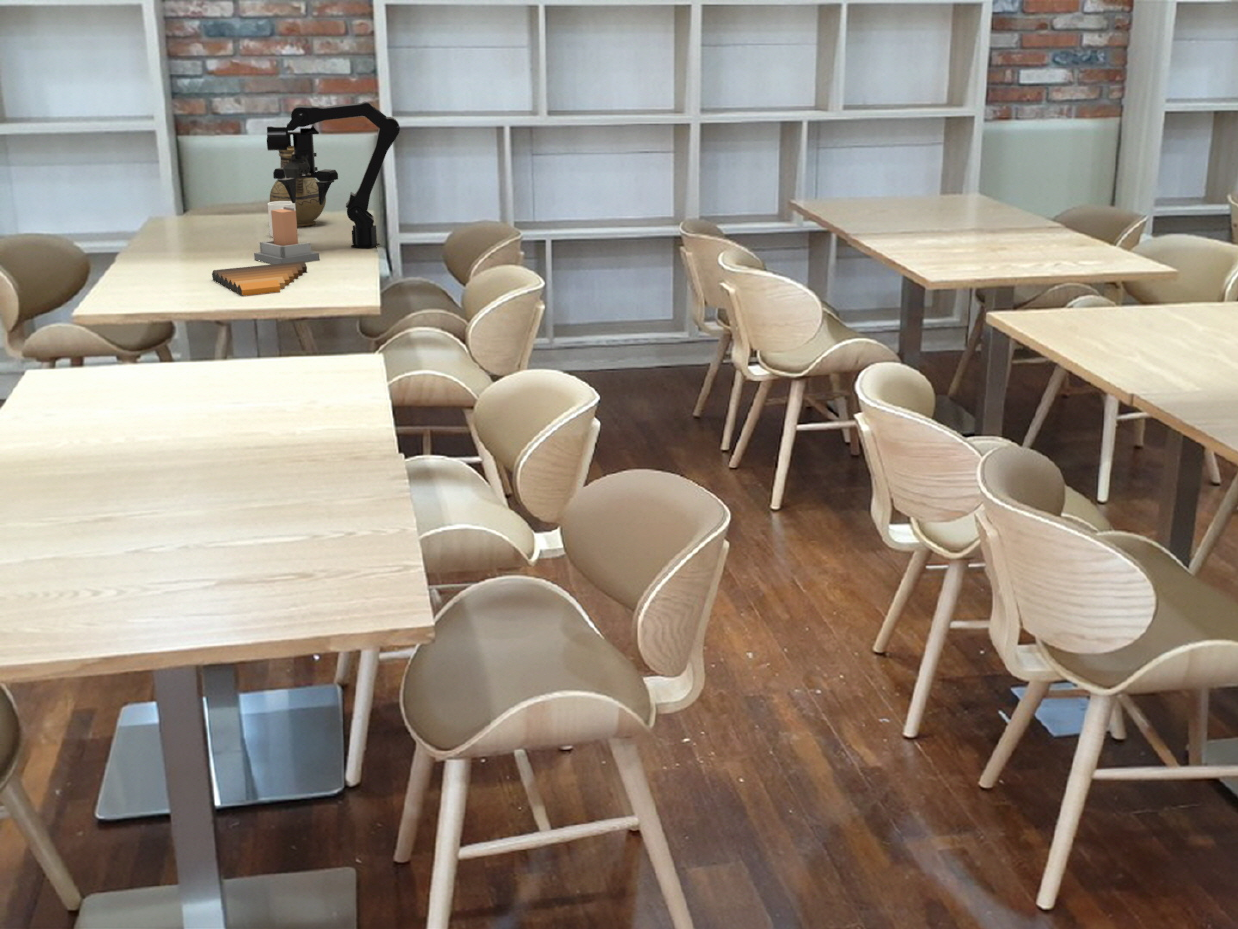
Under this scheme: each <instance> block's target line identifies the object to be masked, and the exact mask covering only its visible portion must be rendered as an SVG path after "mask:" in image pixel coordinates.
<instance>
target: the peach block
mask: <svg viewBox="0 0 1238 929" xmlns="http://www.w3.org/2000/svg"><path fill="white" fill-rule="evenodd" d="M283 208H284V209H278V210H271V215H272V228H273V237H272V238H273V239H272V241H273V242H274V244H275V245H280V246H287V245H294V244H299V237H298V226H297V220H296V211H295V210H294V208H289V207H283Z"/></svg>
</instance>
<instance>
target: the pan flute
mask: <svg viewBox="0 0 1238 929" xmlns="http://www.w3.org/2000/svg"><path fill="white" fill-rule="evenodd" d="M307 270H308V266H307V264H306V262H305V261H300V262H290V263H280V264H261V265H260V264H259V265H250V266H242V267H232V268H221V269H213V271H212V273H211V276H212V281H213V282H215V283H217V282H218V284H219V283H220V284H219V285H221V286H223V287H224V288H227V289H228V290H230V289H231V290H230V291H232V292H234V293H235V292H236V294H238V295H239V296H241V295H247V296H254V295H253V294H256V295H262V294H261V293H265V294H270V293H269V292H274V293H280V292H281V290H282V289H285V288H286V286H289V285H290V283H294V282H295V280H297V279H299V276H303V275H304V274H303V273H308V271H307Z"/></svg>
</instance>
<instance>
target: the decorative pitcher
mask: <svg viewBox="0 0 1238 929" xmlns="http://www.w3.org/2000/svg"><path fill="white" fill-rule="evenodd" d="M277 151H278V157H280V168H282V167H284V166H285V165H286V164H287V163H288V162H290V161H291V156H292V154H294V145H291V147H288V150H277ZM308 175H309V174H308ZM278 180H279V179H276V181H275V182H274V184H273V185H272V187H271V189H270V193H269V202H275V201H291V199H290V196H289V194H288V192H287V190H286V188H285V186H284V185H283V184H282V183H281V182H278ZM316 182H319V181H318V180H317V178H307V177H300V178H298V179H296V202H295V209H296V220H297V227H311V226H314V225H315V224H316V221H315V220H317V219H318V218H319V217H320V216H321V214H322V212H323V211H324V209H325V207H326V203H327V196H326V197H325V199H324V202H323V204H322V205H320V204H319V192H318V186H317V184H316Z"/></svg>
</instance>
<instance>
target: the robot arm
mask: <svg viewBox="0 0 1238 929" xmlns="http://www.w3.org/2000/svg"><path fill="white" fill-rule="evenodd" d="M355 117H356V118H357V117H365V118H366V119H367V120H369V121H370V122H371V123H372V124H373V125H375V126H376V127H377V128H378V129H377V130H378V131H377V137H376V141H375V142H376V143H375V146H374V149H373V151H372V154H371V156H370V160H369V161H368V164H367V167H366V170H365V171H364V174H363V177H362V178H361V182H360V184H359V187H358V189H357V190H356V191H355V193H354V192H353V191H351V192H350V194H349V197H348V200H347V202H346V203H345V208H346V215H347V217H348V219H349V220H350V221H351V222H353V223H354V225H352V230H351V239H352V240H351V241H352V244H351V245H350V247H351V248H361V249H372V248H374V247H377V246H380V245H381V243H380V242H378V237H377V235H378V234H377V225H376V224H375V217H374V215H373V214H372V213H371V212H369V211H368V208H369V203H370V199H371V193H372V191H373V188H374V186H375V183H376V182H377V181H376V180H377V178H378V176H379V174H380V173H379V172H380V171H381V168H382V166H383V164H384V163H383V162H384V160H385V158H386V155H387V152H388V151H389V149H390V148H391V146H393V144H394V142H395V141H396V138H397V137H398V136H399V133H400V131H401V128H400V124H399V122H398V120H397V118H394V117H392V116H386V115H385V114H384V113H383V112H382V111H380V110H379V109H378V108H376V107H374V106H373V105H372V103H370V101H367V100H365V101H362V102H354V103H345V104H337V105H328V106H316V105H306V104H305V105H304V104H300V105H296V106H295V107H294V108H293V110H292V111H291V113H290V118H291V119H290V120H289V122H287V123H286V126H271V125H268V126H267V127H266V147H267V151H270V152H271V151H278V150H288V147H291V146H294V154H292V156H291V161H290V162H288V163H287V164H286V165H285V166H284V167H282V168H281V167H278V168H274V170H273V172H272V173H273V174H272V177H273V179H274V180H277V179H279V180H278V182H281V183H282V184H283V185H284V186H285V188H286V190H287V192H288V194H289V196H290V199H291V201H292V203H295V202H296V179H298V178H300V177H307V178H315V179H316V180H317V181H318V182H316V184H317V186H318V192H319V204H320V205H322V204H323V202H324V199H325V197H326V198H327V194H328V191H329V188H330V187H331V185H332V183H334V182H335V181H336V180H339V173H338V171H337V170H336V169H331V168H330V169H325V168H324V169H320V170H318V166H316V164H315V163H316V162H315V157H317V156H318V155H317V154H318V153H317V152H315V148H314V147H315V145H314V135H319V134H320V131H319V130H318V129H317V128H316V127H315V124H318V123H321V122H323V121H329V120H330V121H331V120H339V119H340V120H341V119H348V118H355ZM311 125H312V126H311ZM308 126H310V127H308ZM304 127H305V128H304ZM297 128H300V131H295V130H296V129H297ZM291 135H292V136H291ZM292 143H293V145H292ZM308 174H309V175H308Z"/></svg>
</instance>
